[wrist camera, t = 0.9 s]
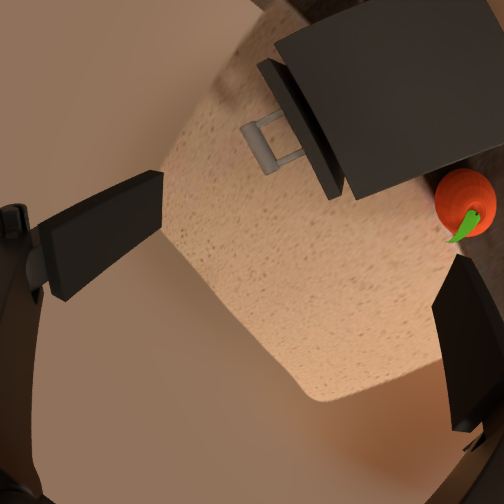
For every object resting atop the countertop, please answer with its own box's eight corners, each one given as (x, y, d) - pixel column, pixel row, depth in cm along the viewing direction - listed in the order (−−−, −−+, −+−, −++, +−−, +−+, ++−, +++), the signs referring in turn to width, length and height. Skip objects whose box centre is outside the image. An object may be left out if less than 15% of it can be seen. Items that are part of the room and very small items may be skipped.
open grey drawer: (294, 193, 35) (275, 222, 28) (240, 94, 32) (205, 95, 24) (472, 122, 25) (506, 132, 18) (419, 13, 22) (438, -12, 15)
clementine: (459, 239, 32) (476, 269, 26) (413, 211, 33) (424, 237, 27) (493, 182, 28) (518, 202, 22) (446, 150, 28) (467, 162, 22)
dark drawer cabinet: (356, 171, 33) (356, 201, 24) (297, 59, 29) (273, 43, 20) (494, 118, 25) (541, 130, 16) (439, 3, 21) (468, -29, 12)
